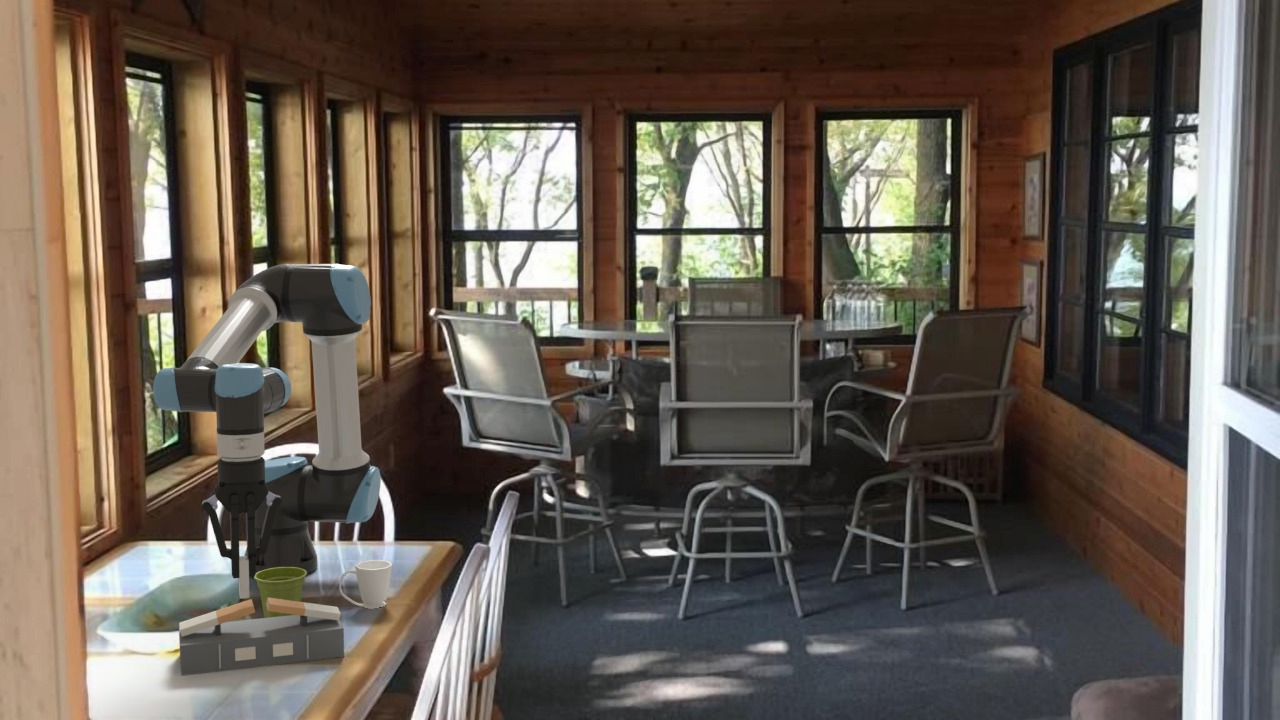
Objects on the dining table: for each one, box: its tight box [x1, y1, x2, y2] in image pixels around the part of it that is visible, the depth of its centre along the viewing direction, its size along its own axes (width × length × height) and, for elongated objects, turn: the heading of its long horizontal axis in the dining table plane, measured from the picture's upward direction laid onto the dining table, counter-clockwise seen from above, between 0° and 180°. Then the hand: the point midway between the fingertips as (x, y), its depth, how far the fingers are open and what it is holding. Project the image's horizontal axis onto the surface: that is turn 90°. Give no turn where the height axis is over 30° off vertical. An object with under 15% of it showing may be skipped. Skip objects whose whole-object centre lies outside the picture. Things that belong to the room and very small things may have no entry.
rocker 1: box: [178, 598, 256, 637], centre depth 214 cm, size 4×12×1 cm, turn 111°
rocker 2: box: [266, 597, 341, 620], centre depth 219 cm, size 4×12×1 cm, turn 111°
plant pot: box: [253, 567, 308, 618], centre depth 236 cm, size 9×9×9 cm
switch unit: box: [178, 615, 345, 676], centre depth 217 cm, size 10×26×7 cm, turn 111°
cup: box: [338, 559, 393, 610], centre depth 245 cm, size 7×10×8 cm
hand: (244, 596), depth 215 cm, fingers closed
